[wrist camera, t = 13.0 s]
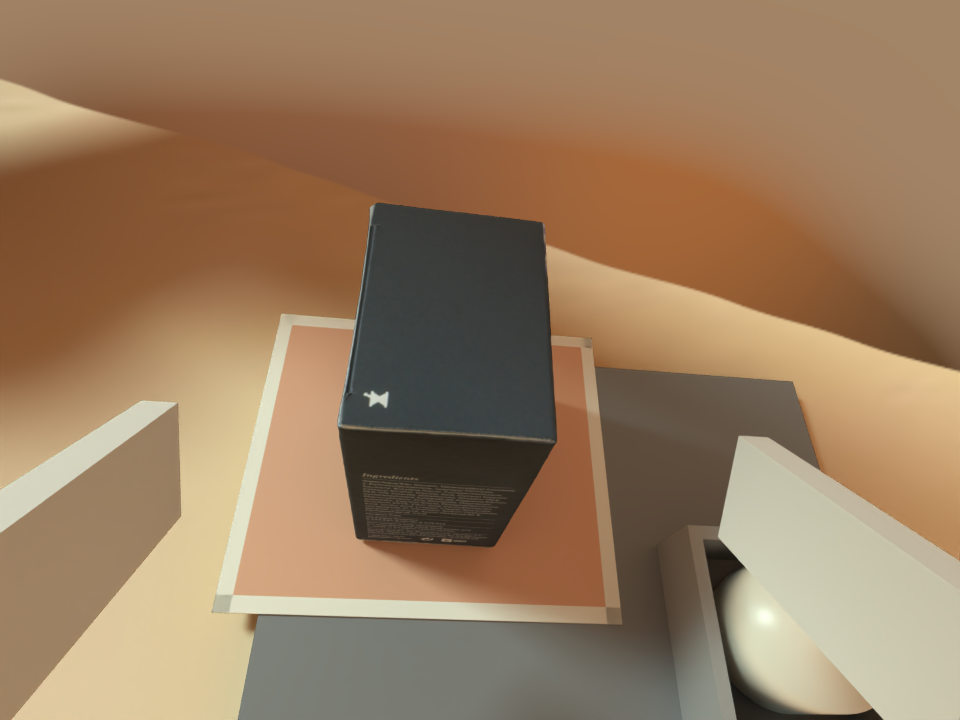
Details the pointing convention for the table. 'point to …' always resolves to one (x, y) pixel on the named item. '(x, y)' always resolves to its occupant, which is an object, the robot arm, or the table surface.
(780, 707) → the button
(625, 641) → the grey board
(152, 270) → the table surface
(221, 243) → the table surface
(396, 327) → the box
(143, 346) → the table surface
